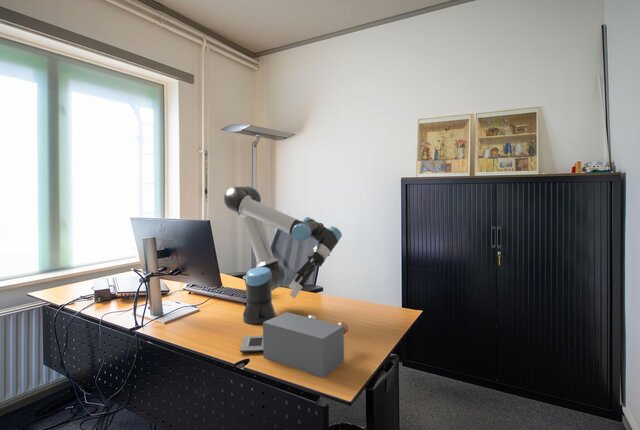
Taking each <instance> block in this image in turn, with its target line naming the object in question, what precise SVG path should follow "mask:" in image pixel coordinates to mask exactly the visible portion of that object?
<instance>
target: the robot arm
mask: <svg viewBox="0 0 640 430" xmlns="http://www.w3.org/2000/svg"><path fill="white" fill-rule="evenodd" d="M223 201H224V204H225V206H226V207H227V208H228V209H229V210H230V211H232V212H234V213H237V214H238V216H239V217H240V218H242V220H243V223H244V226H245V228H246V231H247V235H248V238H249V241H250V244H251V247H252V250H253V254H254V256H255V260H256V266H255V267H254V268H251V269H249V270H248V271H247V272H246V283H245V292H246V293H245V294H246V304H245V307H244V310H243V311H244V312H243V314H242V319H243V320H242V321H243V322H244V323H245V324H249V325H263V322H265V321H267V320H269V319H272V318H274V317H276V311H275V307H274V305H273V302H272V300H273V299H272V298H273V297H272V292H273V291H274V290H276V289H279V288H280V287H281V286H282V285H283V284H284V283H285V281H286V278H287V273H286V270H285V267H284V266H282V265H281V264H280V263H279V260H278V259H277V258H276V257H274V254H273V251H272V248H271V245H270V242H269V239H268V237H267V232H266V230H265V227H264V224H267V225H268V226H271V227H273V228H275V229H277V230H279V231H281V232H284V233H287V234H288V235H291V236H292V237H293V239H295V241H297V242H298V241H299V242H304V241H307V240H309V239H311V238H312V239H313V240H315V241H317V244H316V245H315V246H314V247H313V249H312V251H310V253H309V254H308V256H307V259H308V260H307V261H306V262H305V264H303V265H302V267H300V268H299V270H297V271H296V276H295V277H294V278H293V280H292V281H291V282H290V284H289V285H288V288H290V289H291V290H292V291H291V292H290V293H289V295H290V297H291V298H294V299H296V297H297V296H298V294H299V293H300V292H301V290H302V289H304V288H305V287H306V285H307V284H306V283H307V282H308V280H309V279H310V277H311V276H312V274H313V272H315V269H316V267H318V268H319V267H322V266H323V264H324V263H325V260H327V259H328V257H330V256H331V253H332V251H333V249H334V248H336V247H337V244H338V243H339V242H340V239H341V238H342V236H343V234H342V232H341V230H340V229H339V228H337V227H336V226H333V225H332V226H329V227H326V226H324V225H322V224H321V223H319V222H318V221H316V220H315V219H314V218H311V217H309V216H306V217H305V218H304V219H303V220H300V219H298V218H295V217H293V216H290V215H289V214H286V213H284V212H281V211H279V210H277V209H275V208H272V207H271V206H269V205H266V204H264V203H261V202H262V196H261V194H260V192H259V191H258V190H257V189H256V188H254V187H251V186H232V187H230V188H228V189H227V190H226V191H225V194H224V196H223ZM263 223H264V224H263Z"/></svg>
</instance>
